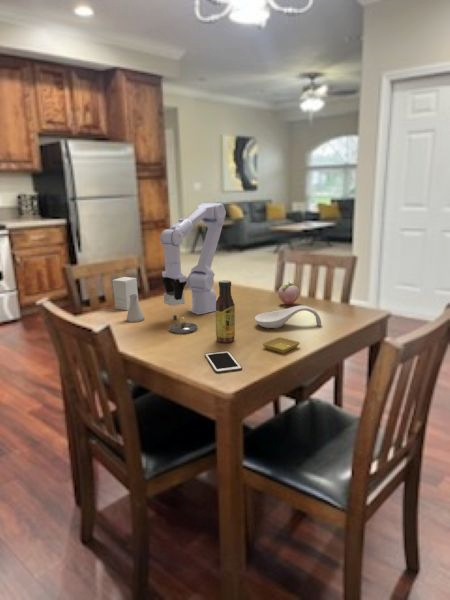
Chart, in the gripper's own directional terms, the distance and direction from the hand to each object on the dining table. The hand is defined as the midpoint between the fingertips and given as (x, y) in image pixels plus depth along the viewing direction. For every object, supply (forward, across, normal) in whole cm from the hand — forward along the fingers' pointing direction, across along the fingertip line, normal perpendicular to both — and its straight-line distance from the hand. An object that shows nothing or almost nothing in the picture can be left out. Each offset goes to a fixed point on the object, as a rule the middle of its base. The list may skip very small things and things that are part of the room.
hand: (174, 297), depth 172 cm
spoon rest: (+9, +32, +28) cm, 44 cm away
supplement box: (+9, -30, -7) cm, 33 cm away
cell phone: (+10, +46, -10) cm, 48 cm away
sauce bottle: (+9, +30, +2) cm, 32 cm away
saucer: (+10, +47, +11) cm, 50 cm away
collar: (+2, 0, 0) cm, 2 cm away
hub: (+9, +12, -3) cm, 15 cm away
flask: (+9, -11, -12) cm, 19 cm away
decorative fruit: (+9, +11, +48) cm, 50 cm away
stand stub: (+9, -2, +1) cm, 9 cm away
